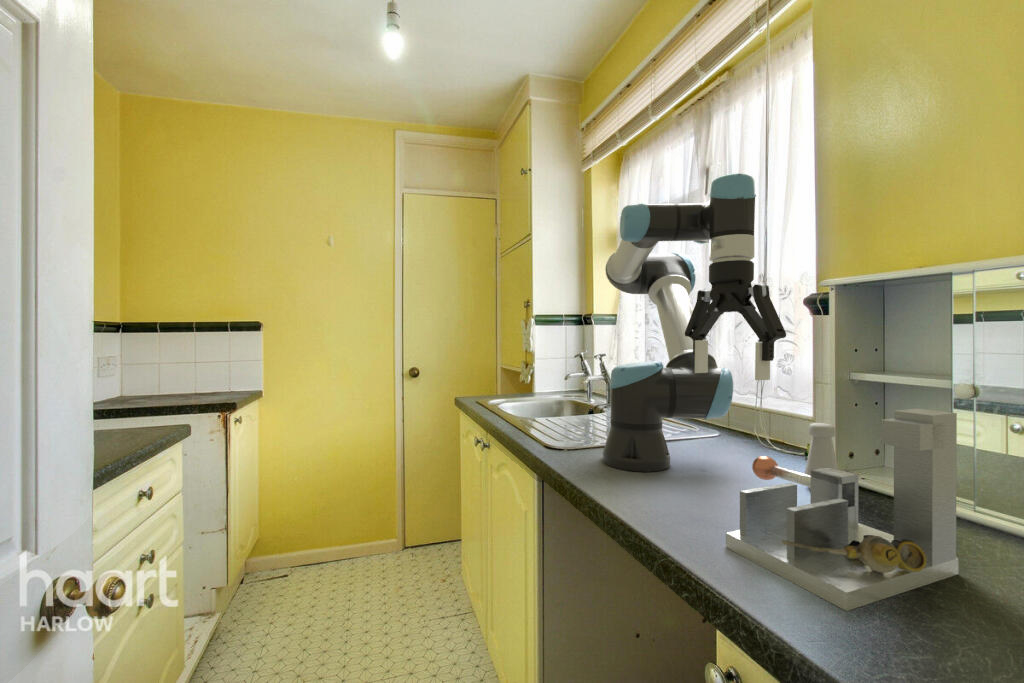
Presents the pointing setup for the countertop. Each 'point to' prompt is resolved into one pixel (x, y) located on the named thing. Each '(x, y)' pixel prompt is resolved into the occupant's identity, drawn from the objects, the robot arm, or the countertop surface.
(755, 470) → the lever
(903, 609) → the countertop surface
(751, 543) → the press
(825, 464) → the salt shaker
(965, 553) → the countertop surface
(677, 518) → the countertop surface
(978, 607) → the countertop surface
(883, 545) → the regulator
